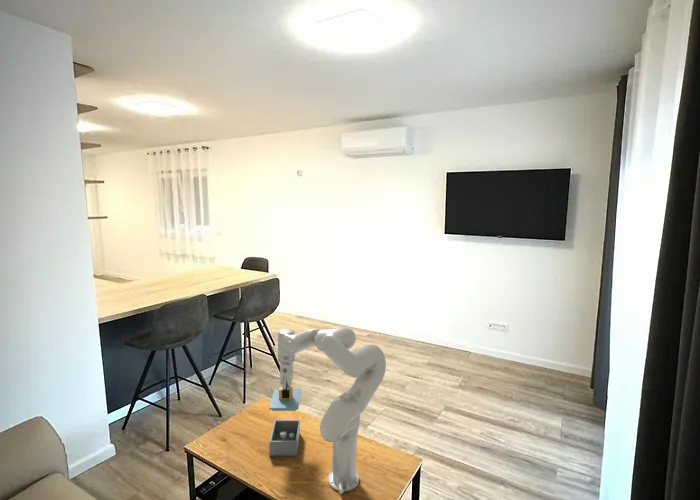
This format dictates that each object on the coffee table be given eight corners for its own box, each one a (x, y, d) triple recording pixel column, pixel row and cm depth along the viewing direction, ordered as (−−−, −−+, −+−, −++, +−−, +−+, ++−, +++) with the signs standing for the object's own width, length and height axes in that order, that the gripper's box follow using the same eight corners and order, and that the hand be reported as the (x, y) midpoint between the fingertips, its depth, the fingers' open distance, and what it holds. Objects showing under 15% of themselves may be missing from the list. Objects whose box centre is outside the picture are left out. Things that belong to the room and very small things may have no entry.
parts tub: (296, 456, 166) (297, 441, 165) (269, 456, 166) (269, 441, 165) (299, 433, 182) (300, 420, 181) (274, 433, 181) (274, 420, 180)
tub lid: (298, 412, 163) (298, 398, 162) (269, 412, 162) (269, 398, 161) (301, 392, 179) (301, 379, 178) (274, 392, 179) (274, 379, 178)
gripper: (293, 365, 160) (292, 405, 163) (296, 350, 176) (296, 387, 179) (275, 365, 160) (274, 405, 162) (280, 349, 176) (280, 387, 178)
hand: (286, 395), depth 170 cm, fingers closed on tub lid
